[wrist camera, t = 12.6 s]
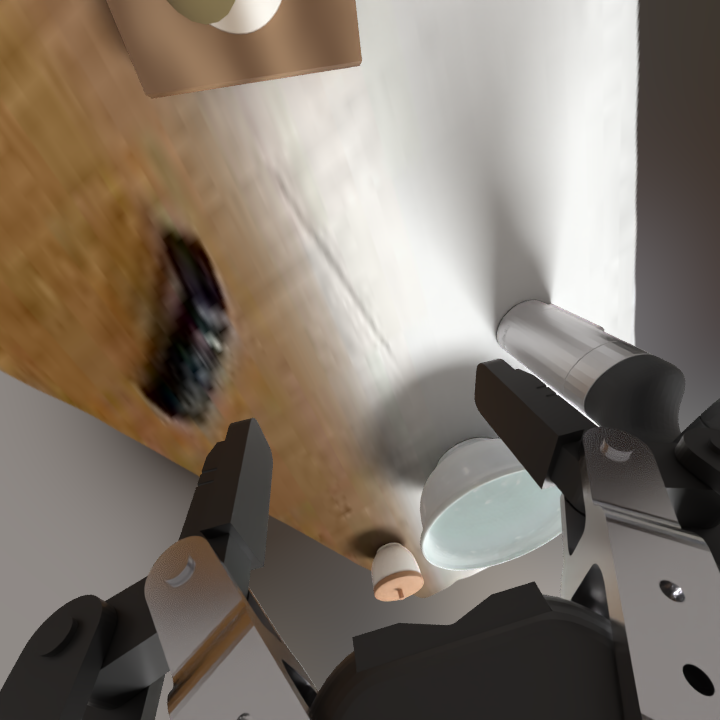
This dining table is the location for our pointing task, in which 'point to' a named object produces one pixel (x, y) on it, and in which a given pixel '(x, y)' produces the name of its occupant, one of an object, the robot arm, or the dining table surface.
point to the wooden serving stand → (236, 42)
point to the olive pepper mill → (203, 9)
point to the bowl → (484, 508)
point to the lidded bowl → (395, 573)
